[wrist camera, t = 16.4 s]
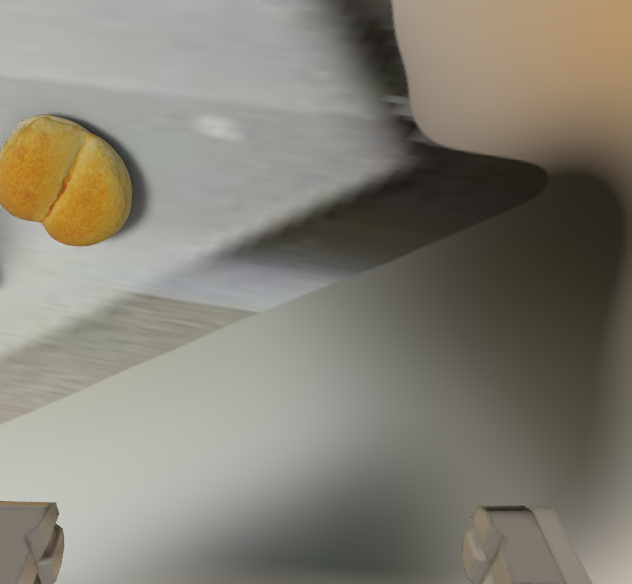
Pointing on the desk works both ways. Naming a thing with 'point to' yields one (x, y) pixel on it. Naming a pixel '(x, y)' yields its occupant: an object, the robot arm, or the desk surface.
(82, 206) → the bread roll
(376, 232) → the desk surface
